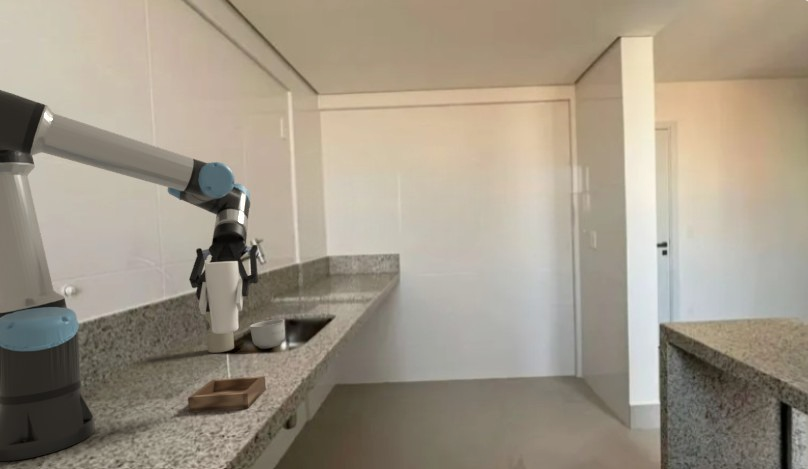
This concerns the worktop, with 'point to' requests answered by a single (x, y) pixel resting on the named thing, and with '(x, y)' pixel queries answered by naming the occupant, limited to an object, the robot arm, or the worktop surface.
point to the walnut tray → (227, 394)
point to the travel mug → (217, 337)
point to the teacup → (268, 333)
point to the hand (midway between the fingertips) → (220, 308)
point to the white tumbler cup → (222, 295)
